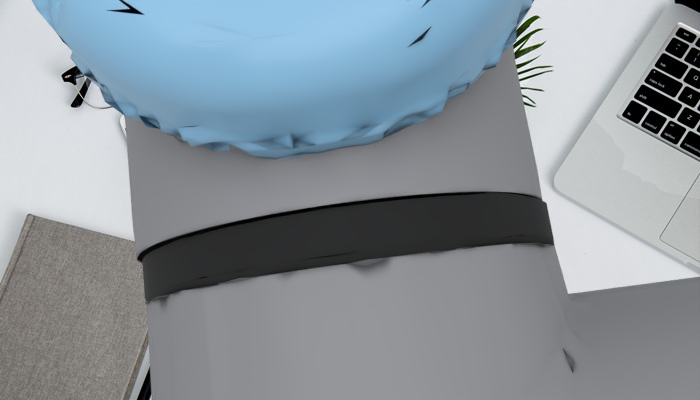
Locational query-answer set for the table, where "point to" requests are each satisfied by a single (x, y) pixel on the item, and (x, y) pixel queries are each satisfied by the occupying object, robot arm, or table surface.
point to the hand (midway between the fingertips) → (357, 229)
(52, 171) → the table surface
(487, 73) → the robot arm
